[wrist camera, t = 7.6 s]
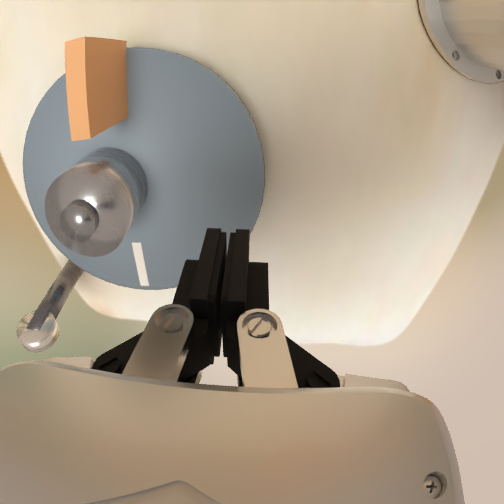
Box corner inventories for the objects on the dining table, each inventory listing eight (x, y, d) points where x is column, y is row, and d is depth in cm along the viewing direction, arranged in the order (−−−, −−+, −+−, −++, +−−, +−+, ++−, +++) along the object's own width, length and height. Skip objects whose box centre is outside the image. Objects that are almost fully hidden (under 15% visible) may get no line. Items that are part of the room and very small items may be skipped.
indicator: (89, 257, 29) (41, 342, 19) (94, 273, 30) (51, 358, 20) (58, 257, 29) (7, 335, 19) (64, 272, 30) (17, 351, 20)
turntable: (270, 36, 17) (283, 21, 11) (257, 281, 29) (261, 346, 22) (19, 70, 16) (-43, 85, 10) (61, 274, 28) (29, 326, 22)
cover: (141, 142, 20) (108, 171, 15) (153, 218, 23) (130, 265, 18) (70, 153, 20) (26, 184, 15) (86, 222, 23) (54, 266, 18)
